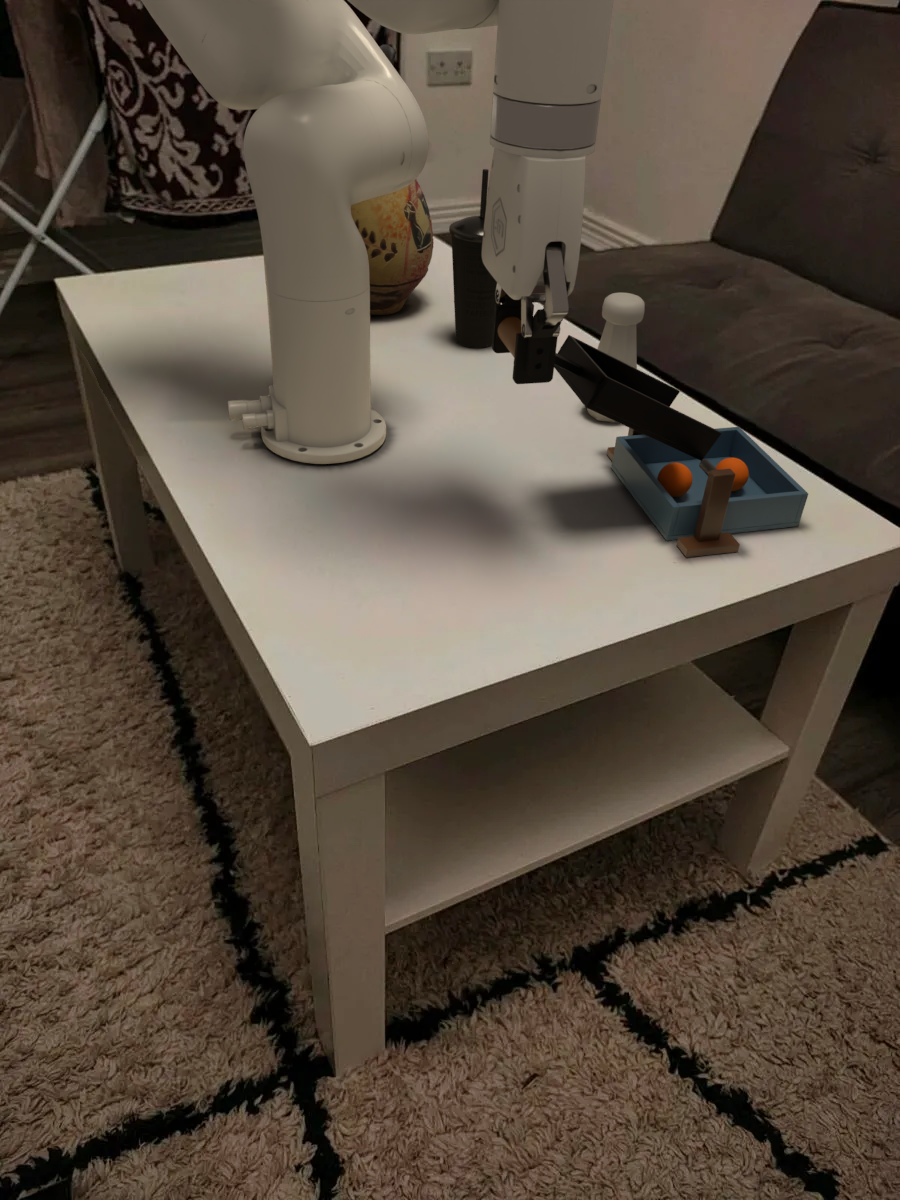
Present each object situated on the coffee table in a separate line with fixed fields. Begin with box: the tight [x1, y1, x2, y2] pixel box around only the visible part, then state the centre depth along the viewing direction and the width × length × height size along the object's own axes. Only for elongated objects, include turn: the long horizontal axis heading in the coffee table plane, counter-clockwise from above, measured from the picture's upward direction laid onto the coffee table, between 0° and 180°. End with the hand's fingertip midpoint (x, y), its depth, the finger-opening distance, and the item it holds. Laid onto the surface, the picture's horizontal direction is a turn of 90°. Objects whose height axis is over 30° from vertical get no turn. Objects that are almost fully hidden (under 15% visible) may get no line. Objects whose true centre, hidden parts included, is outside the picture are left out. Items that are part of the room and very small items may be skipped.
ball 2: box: [716, 458, 749, 491], centre depth 91 cm, size 3×3×3 cm
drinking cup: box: [448, 168, 502, 349], centre depth 114 cm, size 8×8×20 cm
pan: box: [498, 317, 721, 461], centre depth 82 cm, size 20×9×3 cm, turn 103°
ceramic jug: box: [351, 44, 435, 317], centre depth 120 cm, size 17×15×30 cm
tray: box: [611, 426, 809, 541], centre depth 91 cm, size 13×13×4 cm
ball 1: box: [657, 463, 692, 497], centre depth 90 cm, size 3×3×3 cm
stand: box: [606, 427, 740, 558], centre depth 89 cm, size 5×19×7 cm, turn 14°
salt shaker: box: [586, 292, 646, 424], centre depth 101 cm, size 6×6×13 cm
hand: (521, 363), depth 79 cm, fingers closed on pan, 5 cm apart
